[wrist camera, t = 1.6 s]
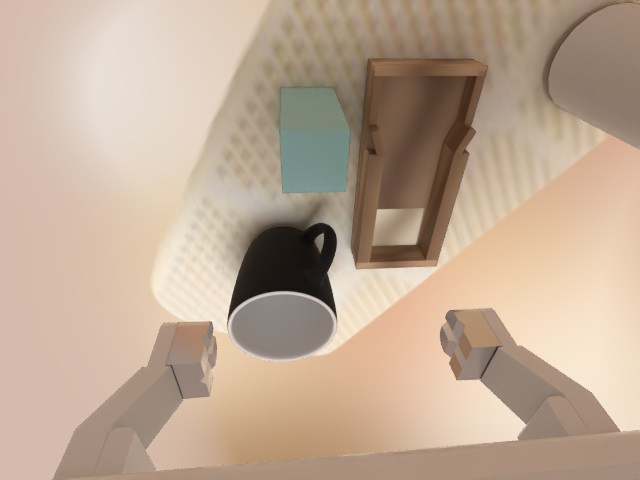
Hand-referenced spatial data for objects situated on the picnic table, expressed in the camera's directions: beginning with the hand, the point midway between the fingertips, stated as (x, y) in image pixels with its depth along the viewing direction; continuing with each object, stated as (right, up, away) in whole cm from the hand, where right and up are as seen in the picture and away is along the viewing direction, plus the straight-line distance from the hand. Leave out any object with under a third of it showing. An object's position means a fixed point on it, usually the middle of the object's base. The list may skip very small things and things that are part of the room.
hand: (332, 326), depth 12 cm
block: (-1, +13, +16) cm, 21 cm away
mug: (-3, +3, +24) cm, 24 cm away
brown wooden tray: (+7, +9, +20) cm, 23 cm away
